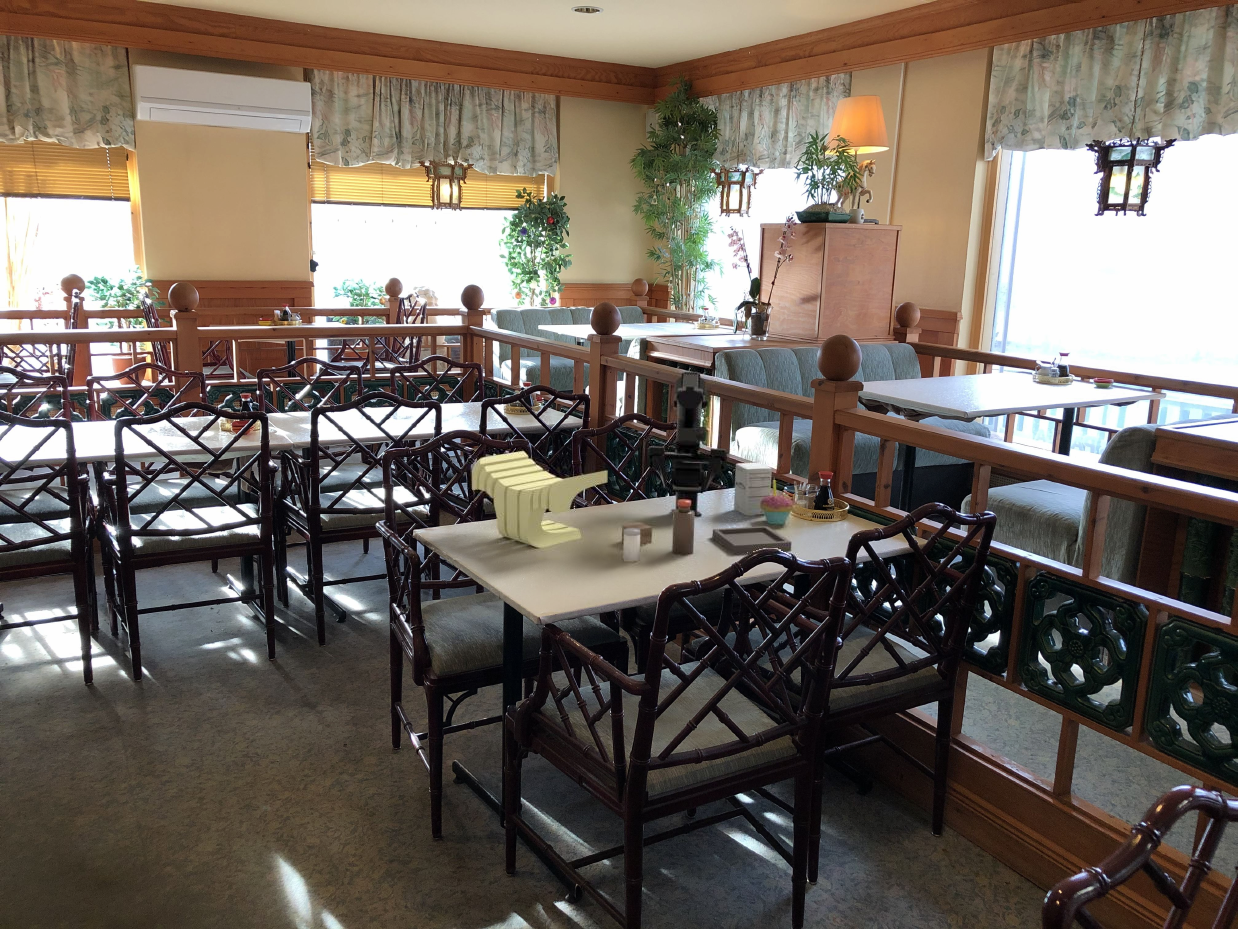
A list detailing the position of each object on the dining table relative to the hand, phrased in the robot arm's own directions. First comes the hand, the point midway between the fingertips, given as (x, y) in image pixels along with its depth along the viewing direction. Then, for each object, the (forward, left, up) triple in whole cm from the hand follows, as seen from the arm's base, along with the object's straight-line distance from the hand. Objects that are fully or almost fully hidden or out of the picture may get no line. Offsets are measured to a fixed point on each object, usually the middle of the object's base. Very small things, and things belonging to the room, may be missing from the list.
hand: (685, 488), depth 225 cm
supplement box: (-24, +27, -13) cm, 39 cm away
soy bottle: (+7, -3, -13) cm, 15 cm away
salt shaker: (+10, -16, -13) cm, 23 cm away
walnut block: (-3, -11, -13) cm, 17 cm away
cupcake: (-13, +29, -13) cm, 35 cm away
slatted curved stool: (-11, -33, -13) cm, 37 cm away
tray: (+4, +15, -13) cm, 21 cm away
